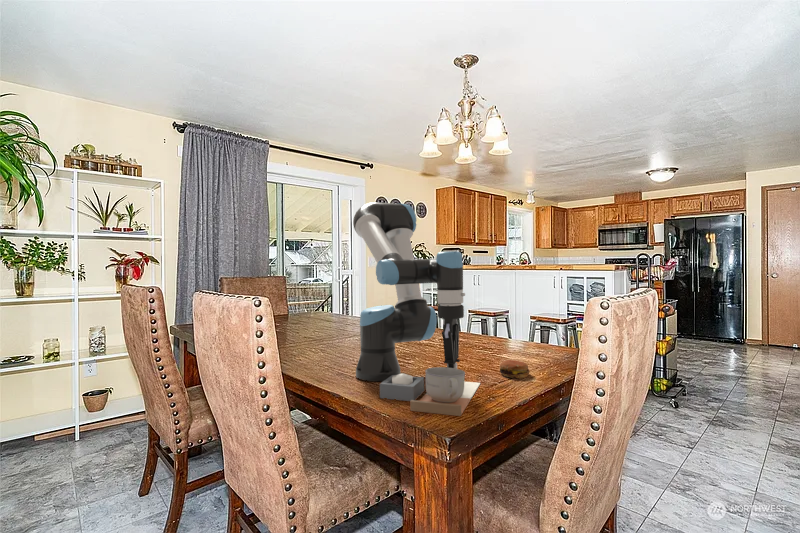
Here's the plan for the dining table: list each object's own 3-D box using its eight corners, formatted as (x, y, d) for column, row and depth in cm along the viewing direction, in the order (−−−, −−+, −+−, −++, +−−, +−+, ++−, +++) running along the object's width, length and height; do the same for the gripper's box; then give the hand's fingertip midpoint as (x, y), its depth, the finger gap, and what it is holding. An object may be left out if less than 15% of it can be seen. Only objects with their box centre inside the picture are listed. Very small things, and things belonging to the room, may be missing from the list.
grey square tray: (379, 398, 117) (379, 383, 117) (392, 387, 126) (392, 374, 126) (413, 401, 113) (413, 386, 113) (424, 390, 123) (424, 377, 123)
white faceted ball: (389, 396, 118) (388, 375, 118) (396, 390, 124) (396, 370, 124) (409, 398, 116) (408, 377, 116) (415, 392, 121) (415, 371, 121)
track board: (410, 410, 106) (410, 401, 106) (439, 380, 133) (439, 373, 133) (460, 416, 102) (460, 406, 102) (480, 383, 129) (480, 376, 129)
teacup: (424, 393, 119) (423, 365, 119) (462, 392, 119) (461, 365, 119) (428, 410, 105) (427, 379, 105) (471, 409, 105) (470, 378, 105)
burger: (516, 370, 145) (516, 357, 145) (535, 376, 136) (535, 362, 136) (493, 374, 141) (492, 360, 141) (511, 381, 132) (511, 366, 132)
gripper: (458, 306, 114) (460, 392, 114) (467, 302, 126) (469, 380, 126) (432, 306, 116) (434, 390, 116) (443, 302, 128) (445, 378, 128)
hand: (452, 385), depth 121 cm, fingers closed
